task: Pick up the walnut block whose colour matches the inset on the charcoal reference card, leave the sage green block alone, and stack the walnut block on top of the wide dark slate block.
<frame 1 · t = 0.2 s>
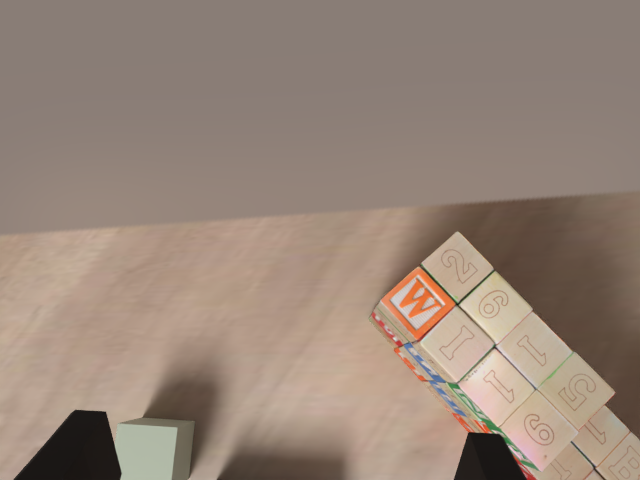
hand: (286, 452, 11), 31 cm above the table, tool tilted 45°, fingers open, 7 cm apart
stack of blocks: (490, 398, 41), on the table
sage green block: (165, 447, 41), on the table
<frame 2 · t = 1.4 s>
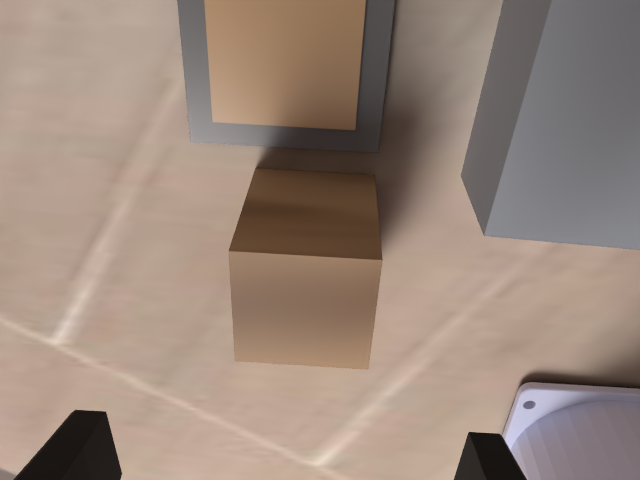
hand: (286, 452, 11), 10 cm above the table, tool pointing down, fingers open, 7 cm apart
slate base block: (622, 63, 16), on the table
walnut block: (312, 221, 20), on the table
reference card: (286, 47, 16), on the table
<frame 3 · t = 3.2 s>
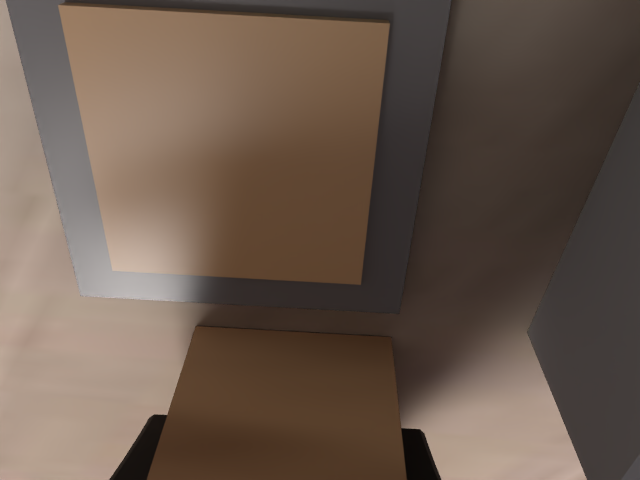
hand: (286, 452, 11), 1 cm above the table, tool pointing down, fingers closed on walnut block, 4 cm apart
walnut block: (291, 397, 12), on the table, touching gripper
reference card: (237, 148, 9), on the table
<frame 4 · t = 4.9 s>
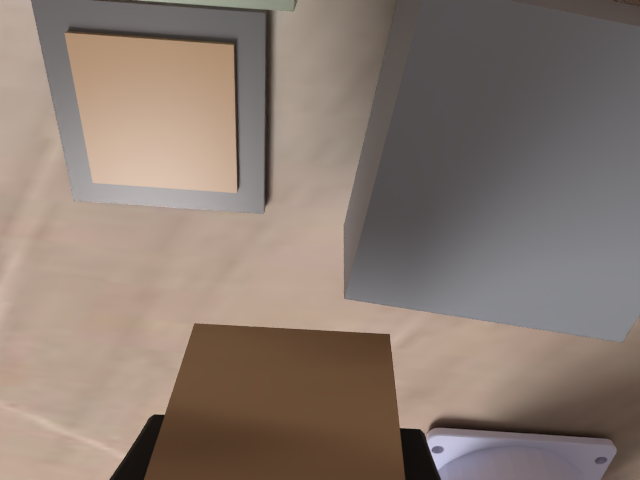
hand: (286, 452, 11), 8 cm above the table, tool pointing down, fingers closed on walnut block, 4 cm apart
slate base block: (501, 131, 16), on the table
walnut block: (290, 394, 12), point 7 cm above the table, touching gripper
reference card: (163, 111, 16), on the table
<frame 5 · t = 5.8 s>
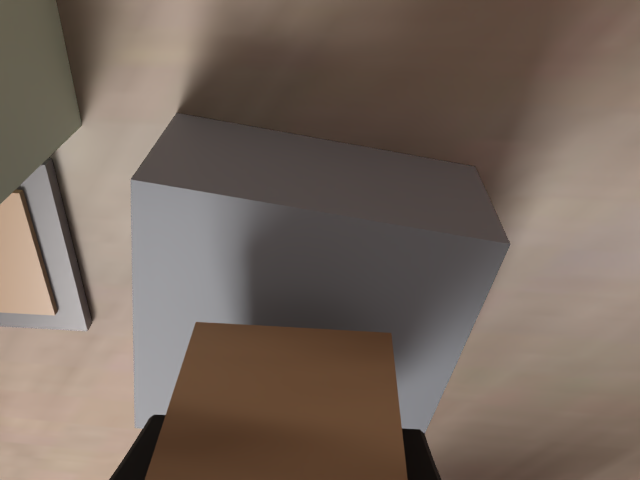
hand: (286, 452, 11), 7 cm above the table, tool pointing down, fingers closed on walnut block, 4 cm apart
slate base block: (305, 255, 17), on the table
walnut block: (291, 393, 12), point 5 cm above the table, touching gripper
when the fingers open (7 cm above the table, at t = 6.5 s): walnut block drops 2 cm, resting on slate base block.
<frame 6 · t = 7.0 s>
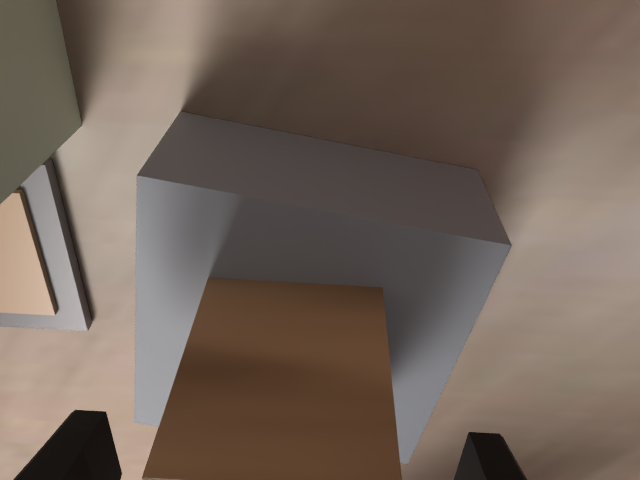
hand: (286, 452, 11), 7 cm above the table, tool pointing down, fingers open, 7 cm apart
slate base block: (305, 254, 17), on the table, touching walnut block
walnut block: (293, 345, 14), point 4 cm above the table, touching slate base block
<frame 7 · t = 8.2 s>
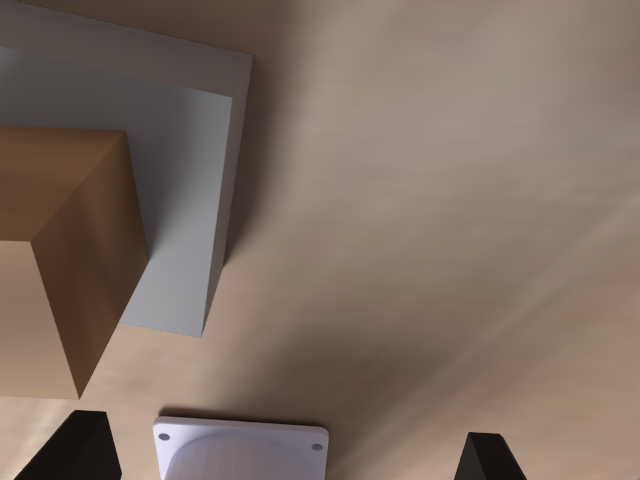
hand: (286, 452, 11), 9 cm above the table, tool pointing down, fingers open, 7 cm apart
slate base block: (118, 145, 18), on the table, touching walnut block
walnut block: (64, 198, 15), point 4 cm above the table, touching slate base block
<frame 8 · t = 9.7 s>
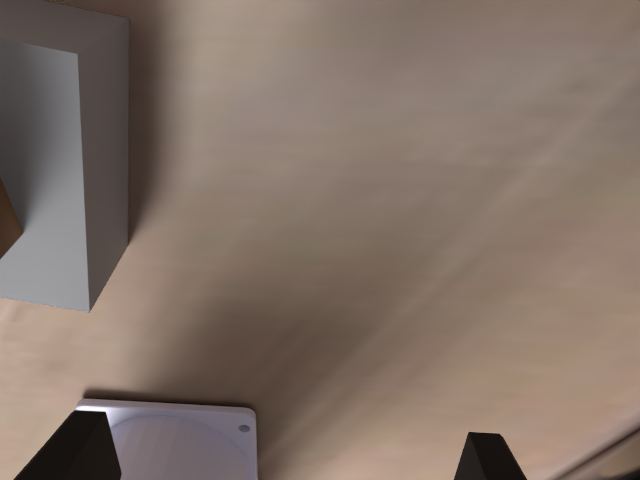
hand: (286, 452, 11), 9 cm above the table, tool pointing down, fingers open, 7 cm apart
slate base block: (7, 117, 18), on the table, touching walnut block
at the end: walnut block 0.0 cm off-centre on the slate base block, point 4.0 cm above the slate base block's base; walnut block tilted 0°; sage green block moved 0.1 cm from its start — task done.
